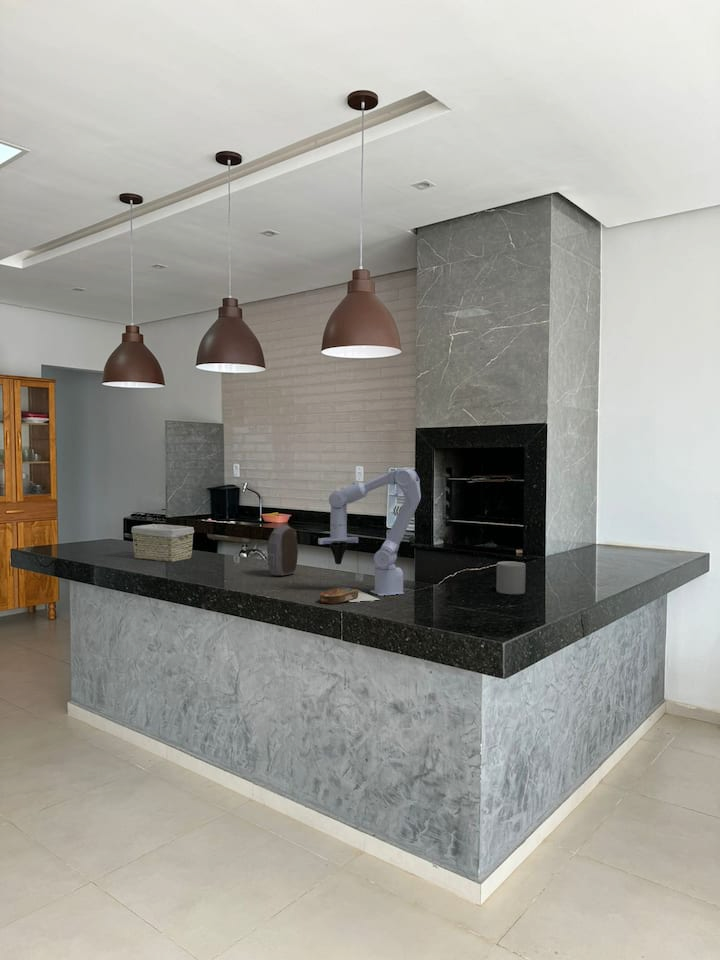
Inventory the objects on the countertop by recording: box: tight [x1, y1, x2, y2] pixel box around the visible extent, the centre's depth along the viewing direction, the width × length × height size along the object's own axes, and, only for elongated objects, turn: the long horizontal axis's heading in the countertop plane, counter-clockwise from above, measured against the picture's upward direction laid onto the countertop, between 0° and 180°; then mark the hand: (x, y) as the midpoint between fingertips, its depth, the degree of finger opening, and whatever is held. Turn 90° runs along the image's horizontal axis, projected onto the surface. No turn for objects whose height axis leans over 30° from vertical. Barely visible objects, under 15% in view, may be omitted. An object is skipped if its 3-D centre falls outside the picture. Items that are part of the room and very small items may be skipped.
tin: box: [319, 586, 359, 605], centre depth 231 cm, size 15×3×8 cm
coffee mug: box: [495, 560, 526, 595], centre depth 252 cm, size 13×10×10 cm
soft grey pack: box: [266, 524, 299, 577], centre depth 279 cm, size 15×8×20 cm, turn 150°
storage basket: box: [130, 523, 195, 563], centre depth 318 cm, size 24×16×15 cm
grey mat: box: [348, 589, 381, 603], centre depth 238 cm, size 10×20×1 cm, turn 25°
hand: (338, 563), depth 248 cm, fingers closed
